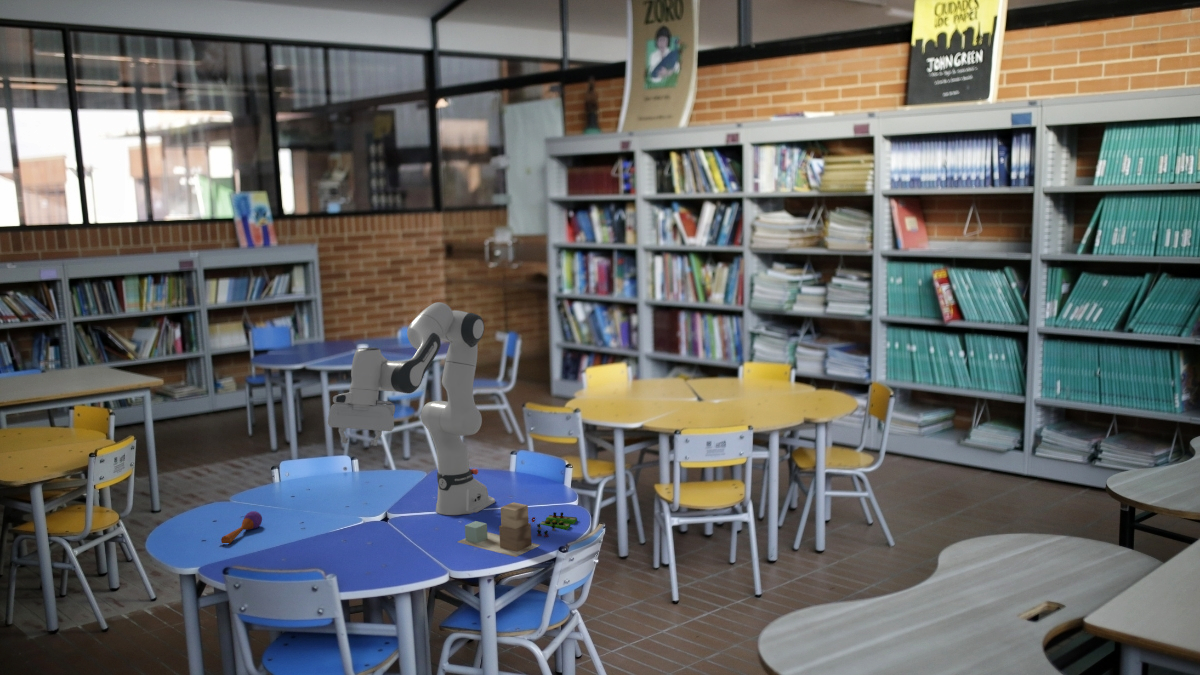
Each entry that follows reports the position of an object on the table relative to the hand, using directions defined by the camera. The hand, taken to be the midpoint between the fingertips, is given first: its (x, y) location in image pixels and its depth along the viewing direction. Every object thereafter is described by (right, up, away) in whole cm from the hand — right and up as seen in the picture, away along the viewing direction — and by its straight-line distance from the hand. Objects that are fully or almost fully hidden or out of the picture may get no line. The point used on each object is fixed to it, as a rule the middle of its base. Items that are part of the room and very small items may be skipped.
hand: (358, 444), depth 299 cm
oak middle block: (+47, -26, +6) cm, 54 cm away
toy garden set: (+53, -32, +27) cm, 68 cm away
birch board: (+42, -34, +11) cm, 55 cm away
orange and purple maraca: (-47, -34, +31) cm, 66 cm away
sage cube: (+34, -32, +15) cm, 49 cm away
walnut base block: (+47, -33, +7) cm, 58 cm away
